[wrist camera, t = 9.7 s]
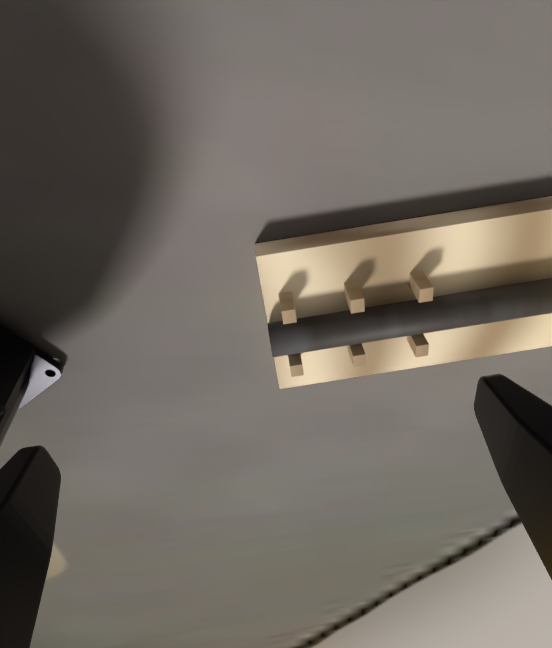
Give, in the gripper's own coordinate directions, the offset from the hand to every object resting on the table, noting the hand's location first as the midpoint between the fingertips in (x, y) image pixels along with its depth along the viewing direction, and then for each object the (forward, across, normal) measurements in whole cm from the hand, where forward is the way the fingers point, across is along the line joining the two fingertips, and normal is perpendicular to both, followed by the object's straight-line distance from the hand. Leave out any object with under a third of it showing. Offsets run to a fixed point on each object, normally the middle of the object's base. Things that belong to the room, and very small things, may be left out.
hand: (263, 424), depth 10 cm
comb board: (+12, -11, +6) cm, 18 cm away
